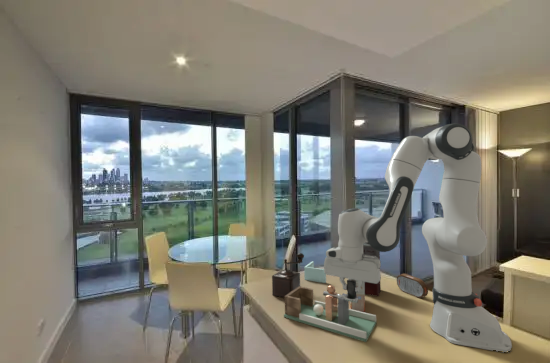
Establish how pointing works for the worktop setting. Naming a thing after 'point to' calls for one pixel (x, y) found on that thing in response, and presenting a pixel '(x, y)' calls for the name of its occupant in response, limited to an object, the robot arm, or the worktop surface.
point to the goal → (298, 300)
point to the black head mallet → (333, 296)
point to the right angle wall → (314, 273)
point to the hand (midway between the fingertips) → (351, 290)
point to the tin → (412, 285)
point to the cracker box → (359, 299)
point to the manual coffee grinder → (286, 279)
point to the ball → (318, 309)
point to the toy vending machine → (369, 287)
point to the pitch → (339, 320)
